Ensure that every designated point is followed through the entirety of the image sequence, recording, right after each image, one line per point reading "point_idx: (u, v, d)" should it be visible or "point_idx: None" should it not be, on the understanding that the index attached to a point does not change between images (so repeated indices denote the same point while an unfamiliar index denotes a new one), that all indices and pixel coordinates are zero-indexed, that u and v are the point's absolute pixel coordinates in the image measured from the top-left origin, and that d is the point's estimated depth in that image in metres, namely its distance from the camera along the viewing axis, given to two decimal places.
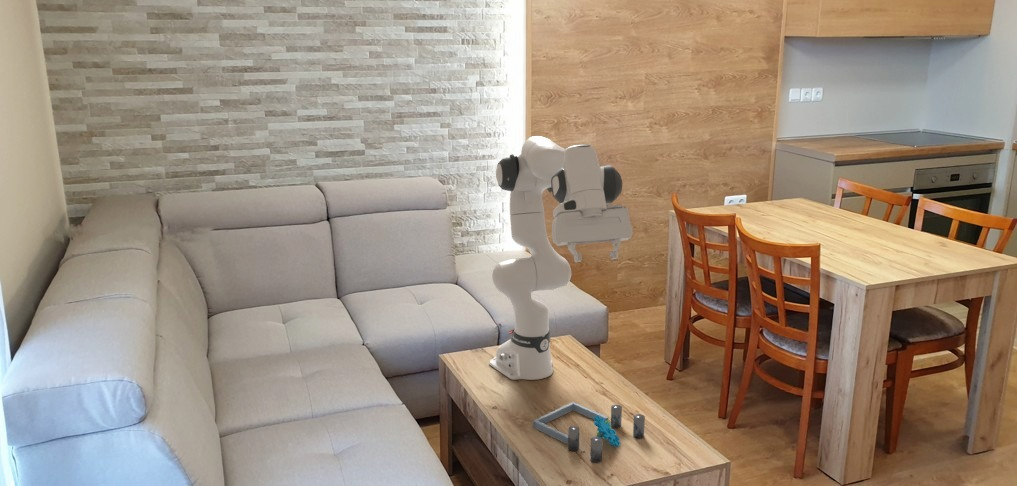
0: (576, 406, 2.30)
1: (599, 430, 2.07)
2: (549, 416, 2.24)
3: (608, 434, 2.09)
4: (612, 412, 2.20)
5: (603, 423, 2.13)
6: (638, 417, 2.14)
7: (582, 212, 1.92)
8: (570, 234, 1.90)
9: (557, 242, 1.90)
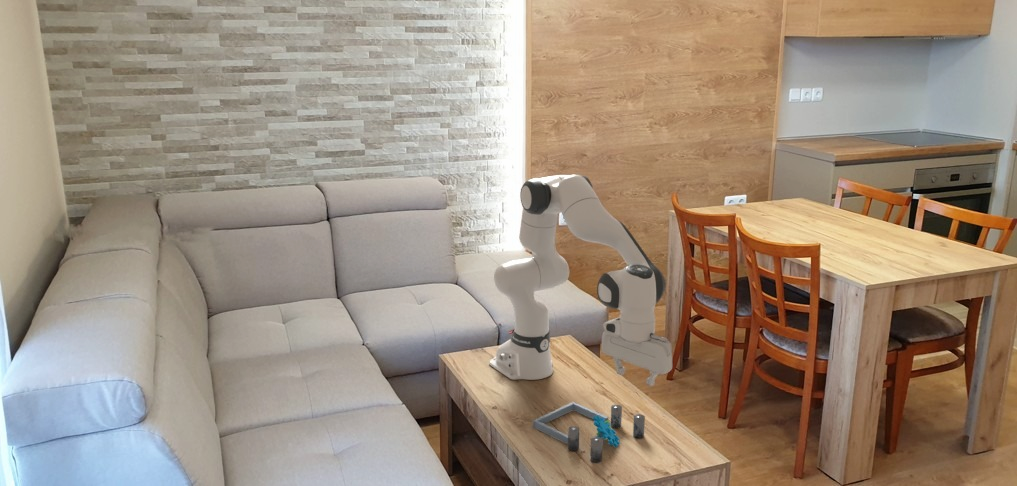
0: (576, 406, 2.30)
1: (598, 430, 2.08)
2: (549, 416, 2.24)
3: (607, 434, 2.09)
4: (612, 412, 2.20)
5: (603, 423, 2.13)
6: (638, 417, 2.14)
7: None
8: (612, 351, 2.02)
9: None
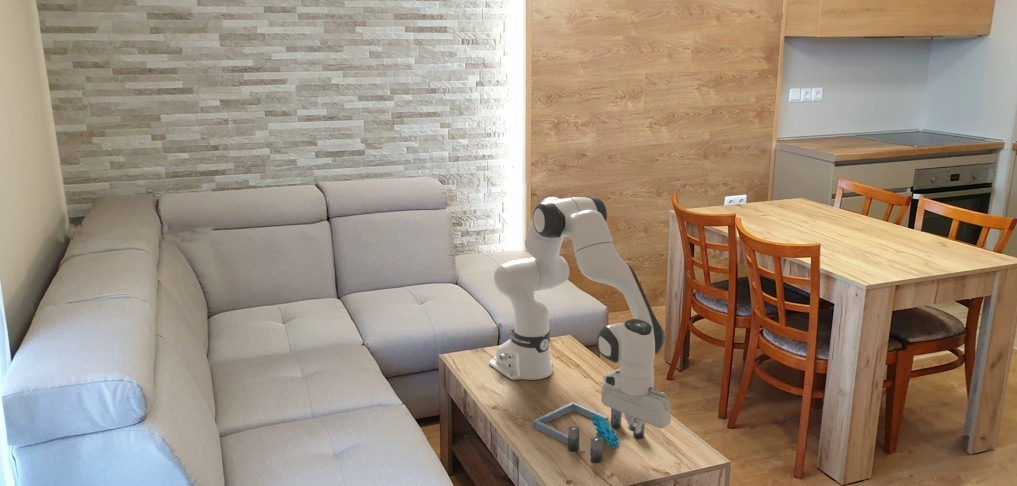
0: (576, 406, 2.30)
1: (597, 430, 2.08)
2: (549, 416, 2.24)
3: (607, 434, 2.09)
4: (612, 412, 2.20)
5: (602, 423, 2.13)
6: None
7: None
8: (611, 402, 2.06)
9: None
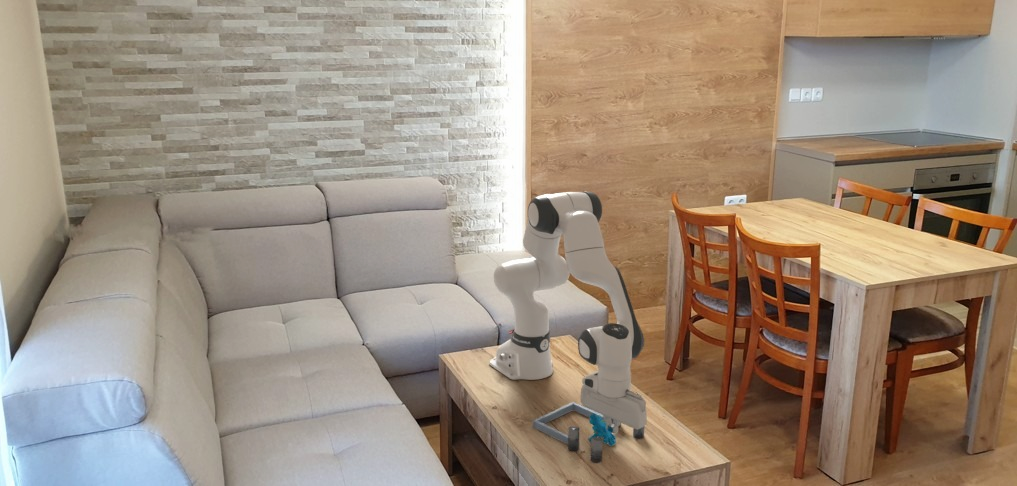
0: (576, 406, 2.30)
1: (594, 428, 2.08)
2: (549, 416, 2.24)
3: (603, 432, 2.10)
4: None
5: (599, 421, 2.13)
6: None
7: None
8: (590, 404, 2.12)
9: None
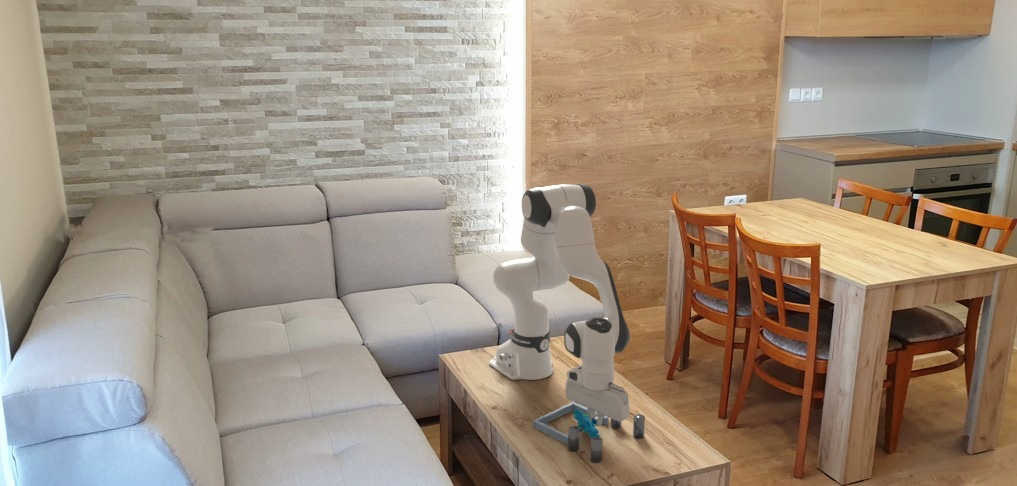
0: (576, 406, 2.30)
1: (579, 423, 2.11)
2: (549, 416, 2.24)
3: (588, 427, 2.13)
4: None
5: (582, 417, 2.16)
6: (638, 417, 2.14)
7: None
8: (574, 397, 2.16)
9: None
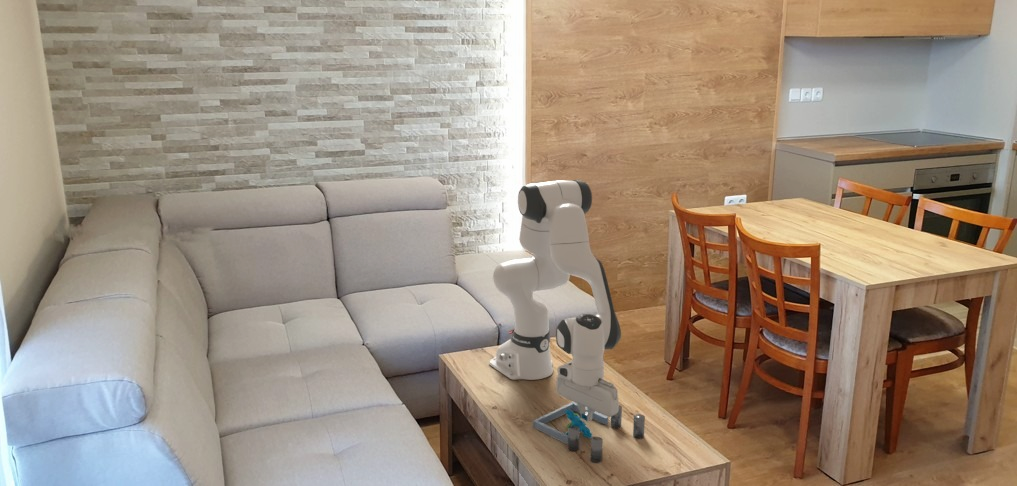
0: (576, 406, 2.30)
1: (573, 423, 2.11)
2: (549, 416, 2.24)
3: (581, 426, 2.13)
4: None
5: (574, 416, 2.17)
6: (638, 417, 2.14)
7: None
8: (565, 392, 2.19)
9: None
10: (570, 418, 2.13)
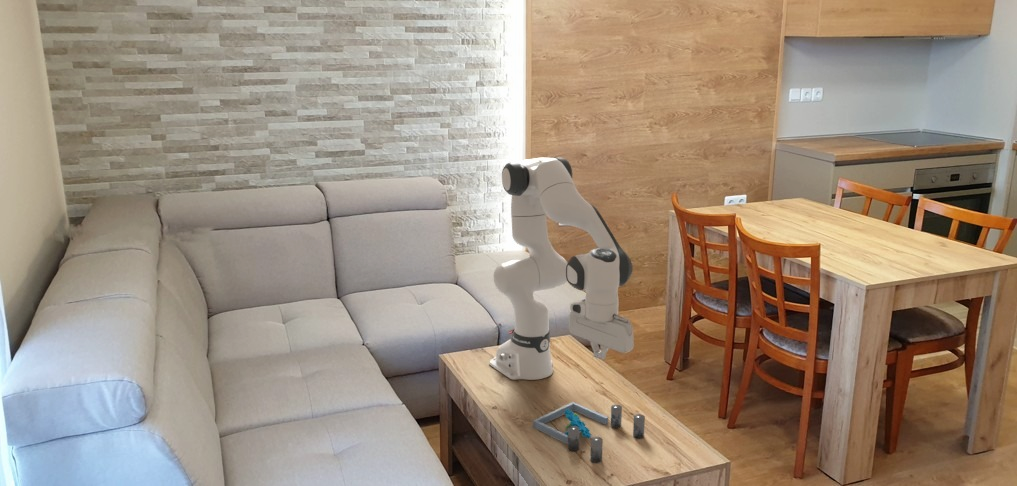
0: (576, 406, 2.30)
1: (572, 423, 2.11)
2: (549, 416, 2.24)
3: (580, 426, 2.13)
4: (612, 412, 2.20)
5: (573, 416, 2.17)
6: (638, 417, 2.14)
7: None
8: (578, 330, 2.12)
9: None
10: (569, 418, 2.13)
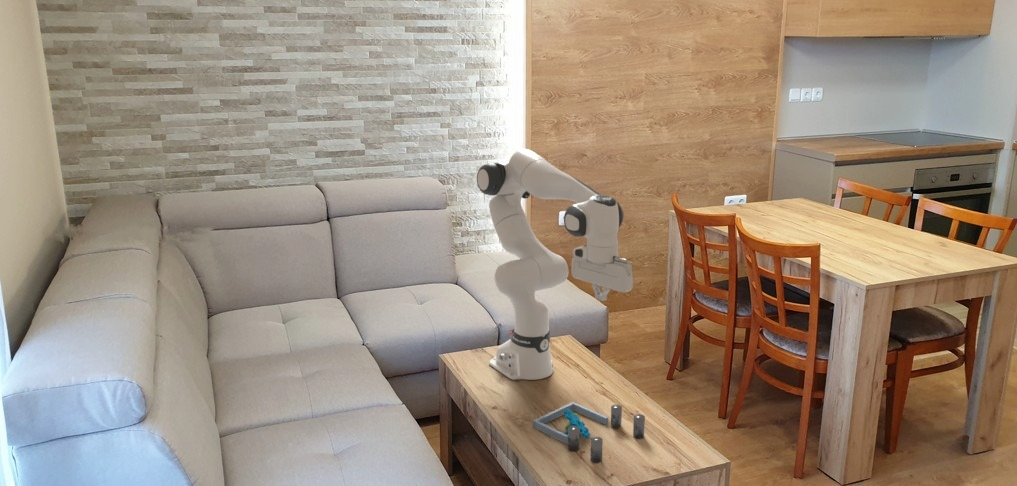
0: (576, 406, 2.30)
1: (571, 423, 2.11)
2: (549, 416, 2.24)
3: (579, 426, 2.13)
4: (612, 412, 2.20)
5: (573, 416, 2.17)
6: (638, 417, 2.14)
7: None
8: (580, 274, 2.25)
9: None
10: (568, 418, 2.13)
